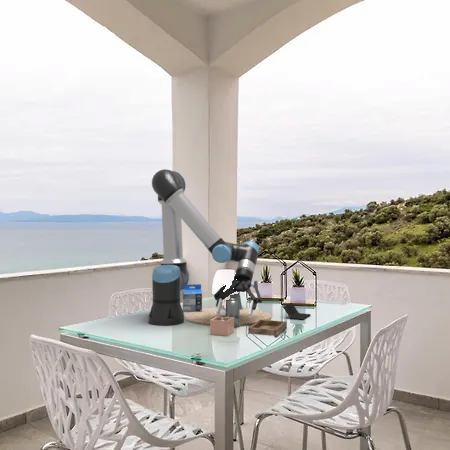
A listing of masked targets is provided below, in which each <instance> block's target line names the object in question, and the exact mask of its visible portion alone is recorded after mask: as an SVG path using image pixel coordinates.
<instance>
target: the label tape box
mask: <svg viewBox="0 0 450 450" xmlns="http://www.w3.org/2000/svg"><path fill="white" fill-rule="evenodd" d="M182 310H183V313H185V312H188V313H189V312H202V311H203V291H202V284H201V283H199V284H198V283H197V284H195V283H193V284H191V283H190V284H187V285H186V287H185V288H184V289H182Z"/></svg>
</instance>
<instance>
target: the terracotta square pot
mask: <svg viewBox="0 0 450 450" xmlns="http://www.w3.org/2000/svg"><path fill="white" fill-rule="evenodd" d="M221 318H224V319H226V321H222V320H219V319H221ZM209 322H210V323H209V324H210V325H209V326H210V329H209V330H210V331H209V334H210V335H214V336H223V337H225V336H226V337H229V336H230V335H231V334H233V333H234V332H235V328H234V318H231V317H226V316H218V315H217V316H215V317H213V318H211V319H210V320H209Z"/></svg>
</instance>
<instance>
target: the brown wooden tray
mask: <svg viewBox="0 0 450 450" xmlns="http://www.w3.org/2000/svg"><path fill="white" fill-rule="evenodd" d="M287 323H288V322H287V321H285V320H284V321H282V320H271V319H270V320H269V319H258V321H256V322H254V323H253V324H252V325H251V326H249V327H248V330H247V331H248V334H249V335H252V334H253V335H263V336H264V335H265V336H272V337H273V336H274V338H278V337H279V336H280V335H281V334H282V333H283V332H284V331H285V330H286V329H287V325H288V324H287Z"/></svg>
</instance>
